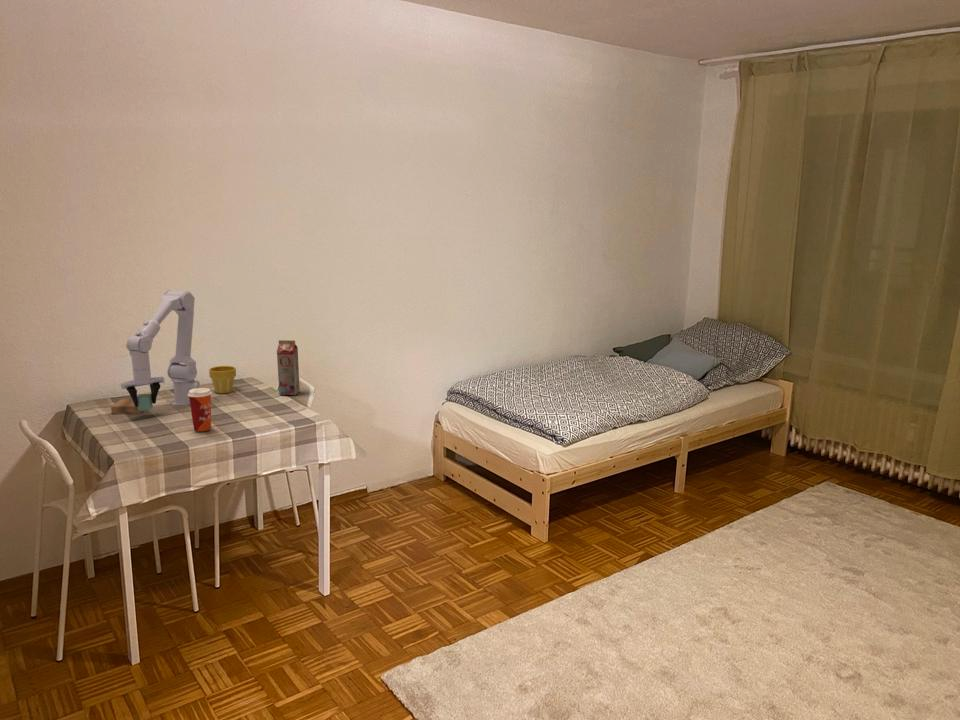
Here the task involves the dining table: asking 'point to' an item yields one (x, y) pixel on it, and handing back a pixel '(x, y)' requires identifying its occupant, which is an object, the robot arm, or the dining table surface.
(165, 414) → the dining table surface
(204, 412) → the paper cup
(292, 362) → the juice carton
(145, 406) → the teal block
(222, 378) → the plant pot
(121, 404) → the walnut plinth
